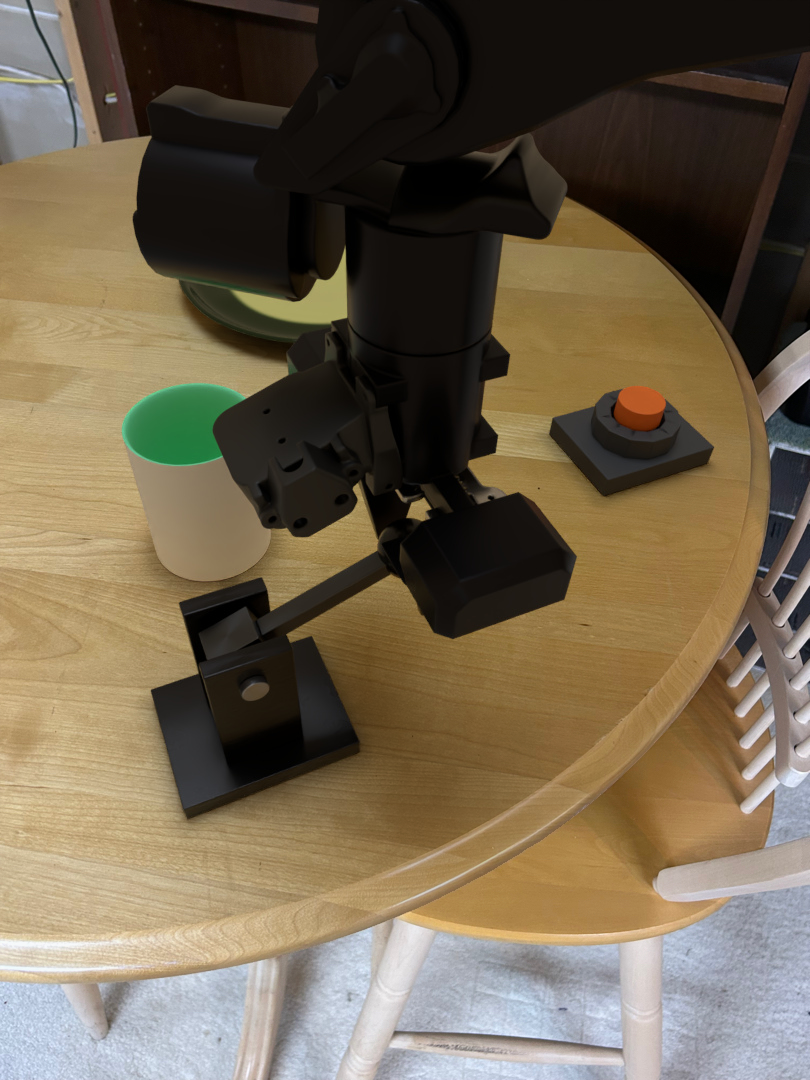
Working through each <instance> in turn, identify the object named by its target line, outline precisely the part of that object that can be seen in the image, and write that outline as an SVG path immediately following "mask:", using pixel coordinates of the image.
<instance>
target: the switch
mask: <svg viewBox="0 0 810 1080" xmlns="http://www.w3.org/2000/svg"><path fill="white" fill-rule="evenodd" d="M178 606H179V610H180V613H181V616H182V620H183V624H184V628H185V631H186V636H187V638H188V642H189V645H190V648H191V653H192V657H193V659H194V660H193V661H194V663H195V666H196V670H197V673H196V674H193V675H190V676H187V677H184V678H181V679H178V680H175V681H172V682H169V683H166V684H163V685H160V686H158V687H157V686H156V687H155V688H151V689H150V694H151V697H152V700H153V701H152V702H153V705H154V708H155V712H156V716H157V718H158V719H157V720H158V723H159V727H160V731H161V734H162V738H163V741H164V746H165V748H166V752H167V756H168V760H169V763H170V767H171V771H172V774H173V778H174V782H175V786H176V789H177V793H178V797H179V800H180V804H181V808H182V811H183V813H184V815H185V818H186V820H189V819H191V818H194V817H197V816H199V815H202V814H204V813H207V812H209V811H212V810H214V809H218V808H220V807H222V806H225V805H228V804H230V803H232V802H235V801H237V800H240V799H242V798H245V797H248V796H250V795H254V794H256V793H259V792H261V791H263V790H267V789H269V788H271V787H274V786H276V785H279V784H281V783H284V782H287V781H289V780H292V779H293V778H297V777H299V776H303V775H304V774H307V773H310V772H312V771H315V770H318V769H320V768H322V767H325V766H328V765H331V764H333V763H336V762H338V761H341V760H344V759H347V758H348V757H351V756H354V755H356V754H359V753H361V742H360V739H359V737H358V735H357V733H356V730H355V728H354V725H353V723H352V720H351V719H350V717H349V714H348V713H347V712H348V711H346V707H345V706H344V704H343V701H342V699H341V697H340V695H339V692H338V691H337V688H336V686H335V683H334V681H333V680H332V677H331V675H330V672H329V670H328V668H327V666H326V663H325V662H324V660H323V657H322V655H321V653H320V650H319V648H318V646H317V644H316V641H315V639H314V637H313V636H312V635H309V636H306V637H304V638H300V639H297V640H295V641H292V642H290V639H289V637H288V634H285V635H282V636H279V637H276V638H273V639H270V640H267V641H264V642H261V643H258V644H255V645H252V646H249V647H246V648H243V649H240V650H236V651H233V652H230V653H227V654H224V655H221V656H218V657H215V658H212V659H209V660H207V657H206V654H205V651H204V648H203V645H202V642H201V640H200V637H199V633H200V632H201V631H203V630H205V629H207V628H208V627H210V626H212V625H214V624H215V623H217V622H219V621H221V620H222V619H224V618H226V617H228V616H229V615H231V614H233V613H235V612H236V611H238V610H240V609H242V608H243V607H245V606H247V607H248V609H249V610H250V611H251V612H252V613H253V614H254V615H255V616H256V617H257V618H260V617H262V616H264V615H265V614H267V613H269V612H271V611H272V610H271V604H270V597H269V591H268V588H267V586H266V583H265V580H264V577H262V576H260V577H257V578H253V579H250V580H247V581H243V582H240V583H236V584H233V585H230V586H227V587H224V588H220V589H217V590H214V591H210V592H208V593H204V594H201V595H197V596H194V597H190V598H188V599H185V600H181V601H179V602H178Z"/></svg>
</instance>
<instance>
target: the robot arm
mask: <svg viewBox="0 0 810 1080" xmlns="http://www.w3.org/2000/svg"><path fill="white" fill-rule="evenodd" d="M317 14H318V15H317V22H316V29H315V39H314V45H315V52H316V59H317V65H318V66H317V67H316V69H315V71H314V72H313V74H312V76H311V77H310V78H309V80H308V82H307V83H306V85H305V86H304V88H303V89H302V91H301V92H300V94H299V96H298V97H297V99H296V100H295V102H294V103H293V105H291V106H290V107H285V106H280V105H279V106H277V105H270V104H264V103H259V102H253V101H252V102H251V101H244V100H238V99H231V98H227V97H222V96H220V95H218V94H215V93H213V92H210V91H208V90H205V89H201V88H198V87H197V88H196V87H190V86H184V85H183V86H182V85H176V84H175V85H174V86H172V87H171V88H169V89H168V90H166V91H164V92H163V93H161V94H160V95H158V96H157V97H156V98H154V99H152V100H151V101H149V102H148V104H147V105H146V107H145V112H146V115H147V121H148V126H149V131H150V132H149V133H150V137H151V138H150V139H149V141H148V143H147V146H146V149H145V151H144V153H143V156H142V159H141V163H140V168H139V172H138V176H137V186H136V195H135V196H136V198H135V199H136V200H135V201H136V210H135V211H134V212H133V214H132V225H133V230H134V236H135V239H136V242H137V246H138V248H139V251H140V254H141V255H142V257H143V259H144V261H145V262H146V264H147V266H148V267H149V268H150V269H151V270H152V271H153V272H154V273H155V274H158V275H159V276H162V277H164V278H170V279H173V280H174V279H175V280H178V281H179V280H183V281H188V282H193V283H199V284H204V285H209V286H214V287H219V288H224V289H229V290H234V291H240V292H245V293H250V294H255V295H260V296H265V297H270V298H275V299H280V300H286V301H291V302H297V301H301V300H302V299H303V298H305V297H306V296H307V295H308V294H309V293H310V291H311V290H312V288H313V286H314V284H315V282H316V280H317V279H320V280H329V279H330V278H331V277H332V276H333V275H334V274H335V272H336V271H337V269H338V267H339V264H340V262H341V259H342V256H343V253H344V249H346V288H347V318H344V319H339V320H334V321H331V327H328V328H324V329H319V330H314V331H310V332H305V333H302V334H301V335H300V337H299V338H298V339H297V340H296V341H295V343H292V345H291V346H290V347H289V349H288V350H287V351H286V352H285V353H286V361H287V363H286V364H287V375H285V376H283V377H282V378H279V379H278V380H276V381H274V382H273V383H271V384H269V385H267V386H266V387H263V388H262V389H260V390H259V391H257V392H255V393H253V394H252V395H250V396H248V397H245V398H246V399H244V400H243V401H241V402H239V403H237V404H235V405H234V406H232V407H230V408H228V409H227V410H225V411H224V412H223V413H221V414H220V415H219V416H218V418H217V419H216V420H215V422H214V425H213V429H212V430H213V435H214V438H215V440H216V442H217V444H218V447H219V449H220V451H221V454H222V456H223V458H224V460H225V463H226V465H227V467H228V469H229V472H230V474H231V476H232V478H233V480H234V481H235V483H236V484H237V485H238V487H239V488H240V489H241V491H242V492H243V493H244V495H245V496H246V497H247V499H248V500H249V501H250V503H251V504H252V505H253V507H254V509H255V511H256V513H257V515H258V518H259V519H260V522H261V524H262V526H263V527H264V528H266V529H271V530H283V529H287V530H288V532H289V533H290V534H291V536H292V537H294V538H310V537H311V536H313V535H315V534H317V533H319V532H320V531H323V530H324V529H326V528H327V527H330V526H331V525H333V524H334V523H336V522H338V521H340V520H341V519H343V518H345V517H346V516H348V515H350V514H351V513H352V512H353V511H354V510H355V508H356V507H357V504H358V502H359V500H358V496H357V494H356V492H355V491H354V487H355V486H356V485H357V484H358V487H359V490H360V494H361V497H362V499H363V503H364V505H365V508H366V511H367V514H368V517H369V519H370V522H371V526H372V528H373V531H374V534H375V537H376V539H377V541H378V540H379V537H380V535H381V533H382V531H383V530H384V529H385V528H386V527H387V526H388V525H389V524H390V523H392V522H393V521H395V520H398V519H401V518H408V514H409V512H410V509H411V506H412V503H416V502H419V501H421V500H422V499H424V500H425V501H426V504H428V506H429V508H430V509H426V510H425V511H424V513H425V514H424V520H421V521H422V522H421V523H420V524H419V525H418V526H417V527H416V528H415V529H414V530H413V531H412V532H411V533H410V534H409V535H406V536H402V537H399V538H396V539H393V540H389V541H386V542H383V543H381V546H382V547H383V549H384V551H385V553H386V554H387V556H388V558H389V560H390V561H391V563H392V565H393V566H394V568H395V570H396V572H397V573H398V575H399V577H400V580H401V582H402V583H403V585H404V586H406V588H407V589H408V591H409V592H410V594H411V596H412V598H413V599H414V601H415V603H416V607H417V611H418V613H419V614H420V616H422V617H424V618H425V621H426V622H427V624H428V626H429V627H430V629H431V631H432V633H433V634H434V635H438V636H441V637H444V638H448V639H451V640H455V639H458V638H460V637H465V636H466V635H469V634H472V633H475V632H478V631H480V630H481V631H482V630H483V629H487V628H489V627H492V626H495V625H497V624H498V625H499V624H501V623H504V622H506V621H509V620H512V619H515V618H517V617H520V616H522V615H526V614H528V613H531V612H534V611H537V610H540V609H542V608H545V607H548V606H551V605H554V604H556V603H559V602H562V601H565V599H566V596H567V594H568V590H569V586H570V583H571V580H572V576H573V574H574V573H573V572H574V568H575V566H576V563H577V562H576V561H577V558H578V555H577V554H576V553H575V552H574V551H573V549H572V548H571V547H570V545H569V544H568V543H567V542H566V540H565V539H564V537H563V536H562V535H561V534H560V533H559V532H558V530H557V529H556V528H555V526H554V525H553V523H552V522H551V521H550V520H549V519H548V517H547V516H546V514H545V513H544V512H543V511H542V510H541V508H540V507H539V506H538V505H537V503H536V502H535V501H534V500H532V499H530V498H529V497H528V496H525V495H524V494H522V493H521V492H519V491H517V492H514V493H513V492H512V493H511V494H506V492H505V491H504V490H502V489H500V488H499V487H496V486H486V485H484V484H482V482H481V481H480V480H479V479H478V478H477V476H476V474H475V473H474V472H473V471H472V469H471V467H470V466H469V462H470V461H472V460H473V461H474V460H476V459H480V458H483V457H486V456H490V455H494V454H496V453H497V447H498V441H499V434H498V433H497V432H496V430H494V428H493V427H492V425H491V424H490V423H489V422H488V420H486V418H485V417H484V416H483V414H482V411H483V404H484V403H483V402H484V397H485V396H484V395H485V389H486V388H485V387H486V382H487V381H492V380H495V379H499V378H504V377H507V376H508V373H509V365H510V361H511V353H510V352H509V351H508V350H507V349H506V348H505V347H504V346H503V345H502V343H500V341H499V340H498V339H497V338H496V336H494V335H493V333H492V331H493V324H494V323H493V322H494V314H495V308H496V307H495V306H496V298H497V290H498V284H499V276H500V266H501V260H502V259H501V258H502V252H503V243H504V236H505V235H506V236H507V235H508V236H511V237H512V236H513V237H519V238H522V239H523V238H525V239H529V240H535V241H540V240H542V241H543V240H545V239H547V238H548V237H549V236H550V235H551V233H552V231H553V228H554V226H555V223H556V220H557V218H558V215H559V213H560V211H561V208H562V206H563V203H564V200H565V198H566V195H567V193H568V183H567V182H566V180H565V179H564V178H563V177H562V175H560V174H559V173H558V172H557V170H556V169H555V168H554V167H553V166H552V164H550V163H549V162H548V161H547V160H546V159H545V158H544V157H543V156H542V155H541V153H540V152H539V150H538V148H537V145H536V143H535V139H534V137H533V135H532V134H531V133H532V132H534V131H536V130H538V129H540V128H542V127H545V126H546V125H549V124H550V123H552V122H555V121H556V120H559V119H560V118H562V117H564V116H566V115H568V114H570V113H572V112H574V111H576V110H578V109H580V108H582V107H584V106H586V105H588V104H590V103H592V102H594V101H596V100H598V99H600V98H602V97H604V96H607V95H609V94H611V93H614V92H617V91H619V90H622V89H626V88H628V87H630V86H634V85H637V84H640V83H642V82H645V81H648V80H651V79H654V78H659V77H665V76H671V75H677V74H683V73H690V72H695V71H696V72H697V71H701V70H707V69H713V68H718V67H719V68H720V67H726V66H732V65H737V64H743V63H750V62H756V61H761V60H767V59H768V60H769V59H773V58H780V57H787V56H791V55H792V56H793V55H798V54H804V53H810V0H321V2H320V4H319V7H318V13H317ZM513 139H514V140H513ZM509 140H513V141H512V142H511V143H509V145H507V146H506V147H505V148H502V149H501V150H499V151H495V152H491V153H490V152H489V153H488V152H482V151H480V150H484V149H486V148H489V147H492V146H495V145H497V144H500V143H504V142H506V141H509Z"/></svg>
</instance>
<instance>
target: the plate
mask: <svg viewBox="0 0 810 1080" xmlns="http://www.w3.org/2000/svg"><path fill="white" fill-rule="evenodd" d="M178 284H179V286H180V289H181V291H182V292H183V294H184V296H185V297H186V298H187V300H188V301H189V302H190V303H191V305H192V306H193V307H194V308H195V309H196V310H197V311H199V312H200V313H201V314H202V315H204V316H205V317H207V318H208V319H210V320H211V321H213V322H215V323H216V324H218V325H220V326H222V327H224V328H227V329H230V330H231V331H235V332H236V333H240V334H243V335H246V336H249V337H252V338H253V337H254V338H257V339H262V340H266V341H272V342H278V343H288V344H294V343H295V341H296V340H297V339H298V338H299V337H300V335H301V334H302V333H305V332H310V331H314V330H319V329H324V328H328V327H331V321H334V320H339V319H344V318H347V288H346V249H344V253H343V256H342V259H341V262H340V264H339V267H338V269H337V271H336V272H335V274H334V275H333V276H332V277H331V278H330V279H329V280H320V279H317V280H316V282H315V284H314V286H313V288H312V290H311V291H310V293H309V294H308V295H307V296H306V297H305V298H303V299H302V300H301V301H297V302H291V301H286V300H280V299H275V298H270V297H265V296H260V295H255V294H250V293H245V292H240V291H234V290H229V289H224V288H219V287H214V286H209V285H204V284H199V283H193V282H188V281H183V280H178Z"/></svg>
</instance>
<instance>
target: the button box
mask: <svg viewBox="0 0 810 1080" xmlns="http://www.w3.org/2000/svg"><path fill="white" fill-rule="evenodd" d="M623 389H624V388H620V389H616V390H612V391H609V392H606V393H604V394H603V395H602V396H601V397H600V398H599V399H598V400H597V401H596V402H595V404H594V406H590V407H586V408H583V409H579V410H576V411H572V412H568V413H564V414H561V415H558V416H553V417H552V418H551V423H550V428H549V435H550V437H551V438H552V439H553V440H554V441H555V442H556V444H557V445H558V446H559V447H560V449H562V450H563V451H564V452H565V454H566V455H567V456H568V457H569V458H570V460H572V462H573V463H574V464H575V466H577V468H578V469H579V470H580V471H581V472H582V473H583V474H584V475H585V476H586V478H587V479H588V480H589V482H591V484H592V485H593V486H594V487H595V488H596V490H598V491H599V493H600V494H601V495H602V497H603V496H607V495H611V494H614V493H618V492H621V491H624V490H627V489H630V488H634V487H636V486H640V485H644V484H646V483H649V482H653V481H656V480H658V479H662V478H665V477H668V476H671V475H674V474H677V473H681V472H684V471H688V470H691V469H693V468H697V467H699V466H703V465H706V464H709V461H710V460H711V457H712V454H713V452H714V449H715V446H714V445H713V444H712V443H711V442H710V441H709V440H707V438H705V436H703V434H701V433H700V432H699V431H698V429H696V428H695V427H694V426H693V425H691V423H690V422H688V420H686V418H684V417H683V416H682V415H681V414H680V413H679V410H678V409H677V408H676V407H674V405H672V403H670V401H668V400H667V399H666V398H664V399H665V401H666V406H665V409H664V412H663V415H662V418H661V421H660V424H659V426H658V427H657V428H655V429H654V430H651V431H648V432H644V431H633V430H631V429H629V428H626V427H624V426H622V425H620V424H619V423H618V422H617V421H616V420H615V418H614V410H615V406H616V403H617V399H618V395H619V393H620V392H621V391H622V390H623Z"/></svg>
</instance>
